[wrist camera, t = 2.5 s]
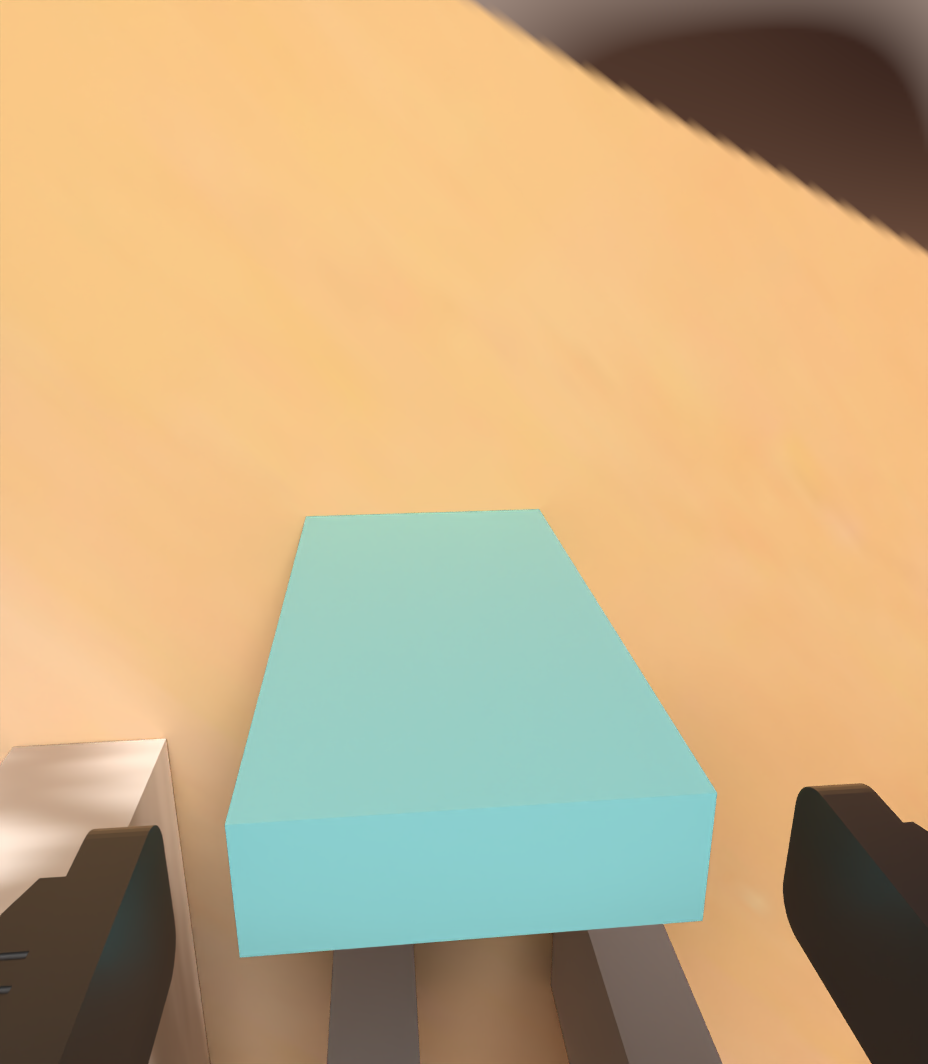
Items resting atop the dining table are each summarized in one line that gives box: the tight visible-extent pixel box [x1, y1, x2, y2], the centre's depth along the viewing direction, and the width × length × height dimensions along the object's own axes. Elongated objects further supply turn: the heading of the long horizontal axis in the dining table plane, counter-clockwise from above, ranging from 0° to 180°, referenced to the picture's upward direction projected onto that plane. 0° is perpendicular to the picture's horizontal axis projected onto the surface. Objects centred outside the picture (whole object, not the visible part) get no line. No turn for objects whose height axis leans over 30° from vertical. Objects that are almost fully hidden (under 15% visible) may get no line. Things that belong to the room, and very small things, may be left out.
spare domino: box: [225, 509, 717, 958], centre depth 16 cm, size 2×6×12 cm, turn 91°
